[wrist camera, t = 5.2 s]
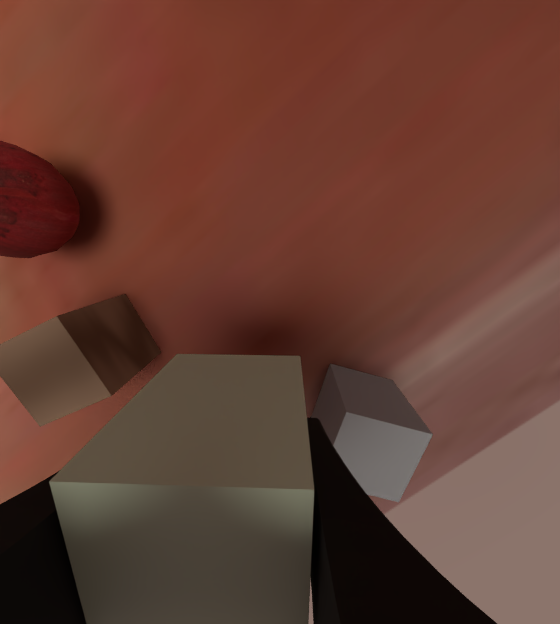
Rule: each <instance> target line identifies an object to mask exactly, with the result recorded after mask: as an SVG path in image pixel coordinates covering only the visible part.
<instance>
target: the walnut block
mask: <svg viewBox="0 0 560 624" xmlns="http://www.w3.org/2000/svg"><path fill="white" fill-rule="evenodd" d="M160 353H161V351H160V349H159V348H158V346H157V345H156V343H155V341H154V340H153V338H152V336H151V335H150V333H149V331H148V330H147V328H146V327H145V325H144V323H143V322H142V320H141V318H140V317H139V315H138V313H137V312H136V310H135V309H134V307H133V305H132V304H131V302H130V300H129V299H128V297H127V295H126V294H123V295H120V296H117V297H114V298H111V299H108V300H105V301H102V302H99V303H96V304H93V305H89V306H86V307H83V308H80V309H77V310H74V311H71V312H68V313H65V314H62V315H59V316H56V317H54V318H52V319H50V320H48V321H46V322H44V323H42V324H40V325H38V326H36V327H34V328H32V329H30V330H28V331H26V332H24V333H22V334H20V335H18V336H16V337H14V338H12V339H10V340H8V341H6V342H4V343H2V344H0V376H1V378H2V379H3V380H4V381H5V383H6V384H7V385H8V386H9V388H10V389H11V390H12V392H13V393H14V394H15V395H16V397H17V398H18V399H19V400H20V402H21V403H22V404H23V405H24V407H25V408H26V409H27V411H28V412H29V413H30V414H31V416H32V417H33V418H34V419H35V421H36V422H37V423H38V425H39V426H43V425H45V424H47V423H50V422H52V421H54V420H57V419H59V418H61V417H64V416H66V415H68V414H71V413H73V412H75V411H78V410H80V409H82V408H84V407H87V406H89V405H91V404H94V403H96V402H98V401H101V400H103V399H105V398H108V397H110V396H112V395H113V394H114V393H115V392H116V391H118V390H119V389H120V388H121V387H122V386H123V385H124V384H126V383H127V382H128V381H129V380H130V379H131V378H132V377H133V376H135V375H136V374H137V373H138V372H139V371H140V370H141V369H143V368H144V367H145V366H146V365H147V364H148V363H149V362H151V361H152V360H153V359H154V358H155V357H156V356H157V355H158V354H160Z"/></svg>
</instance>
